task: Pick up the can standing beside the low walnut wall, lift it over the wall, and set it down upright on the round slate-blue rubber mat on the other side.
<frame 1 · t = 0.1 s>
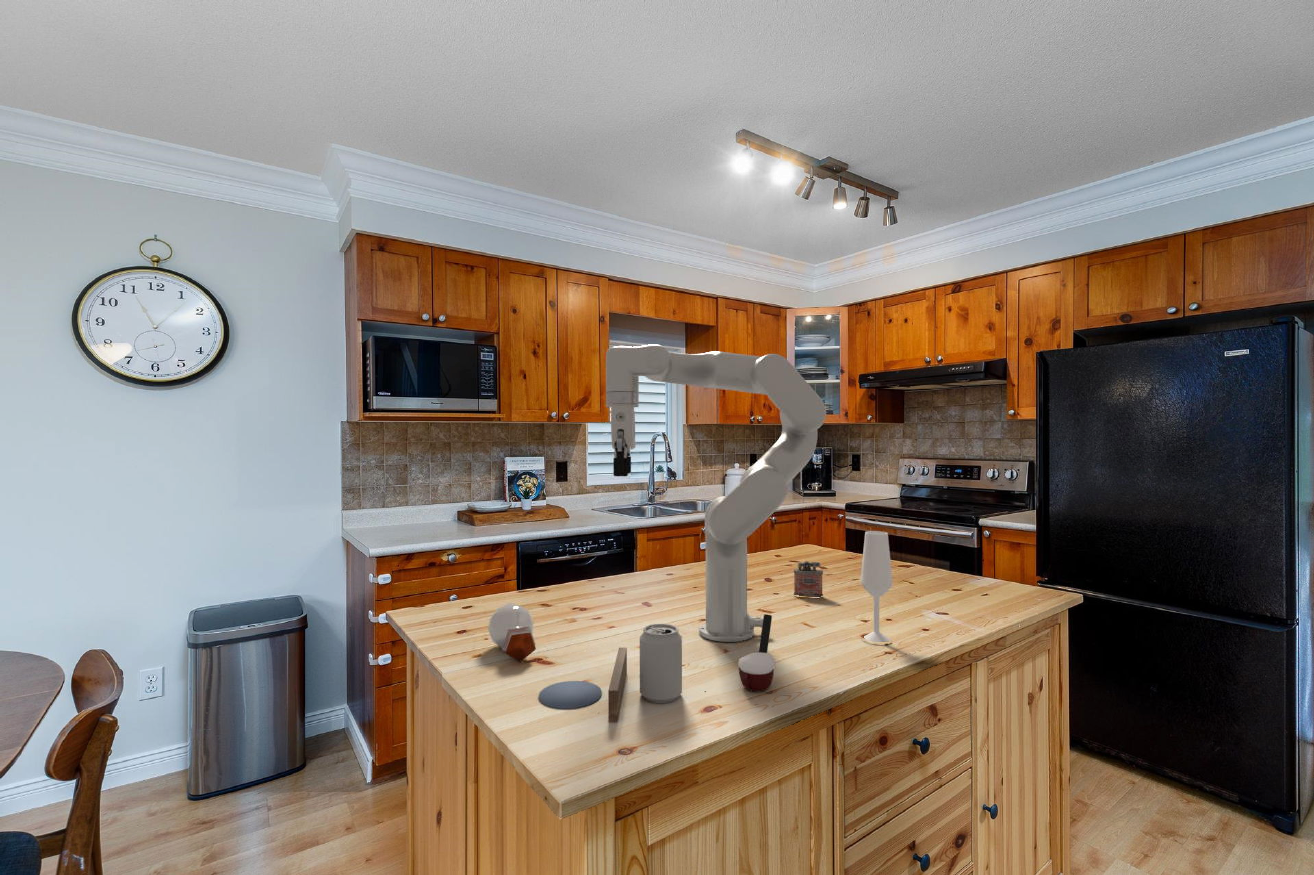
hand: (622, 474, 143), 37 cm above the counter, tool pointing down, fingers open, 9 cm apart
can: (661, 697, 109), on the counter
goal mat: (570, 695, 109), on the counter
potion bottle: (514, 652, 132), on the counter
champagne flute: (876, 641, 138), on the counter
low wall: (618, 695, 109), on the counter
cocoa: (757, 688, 113), on the counter
lighter: (808, 597, 175), on the counter
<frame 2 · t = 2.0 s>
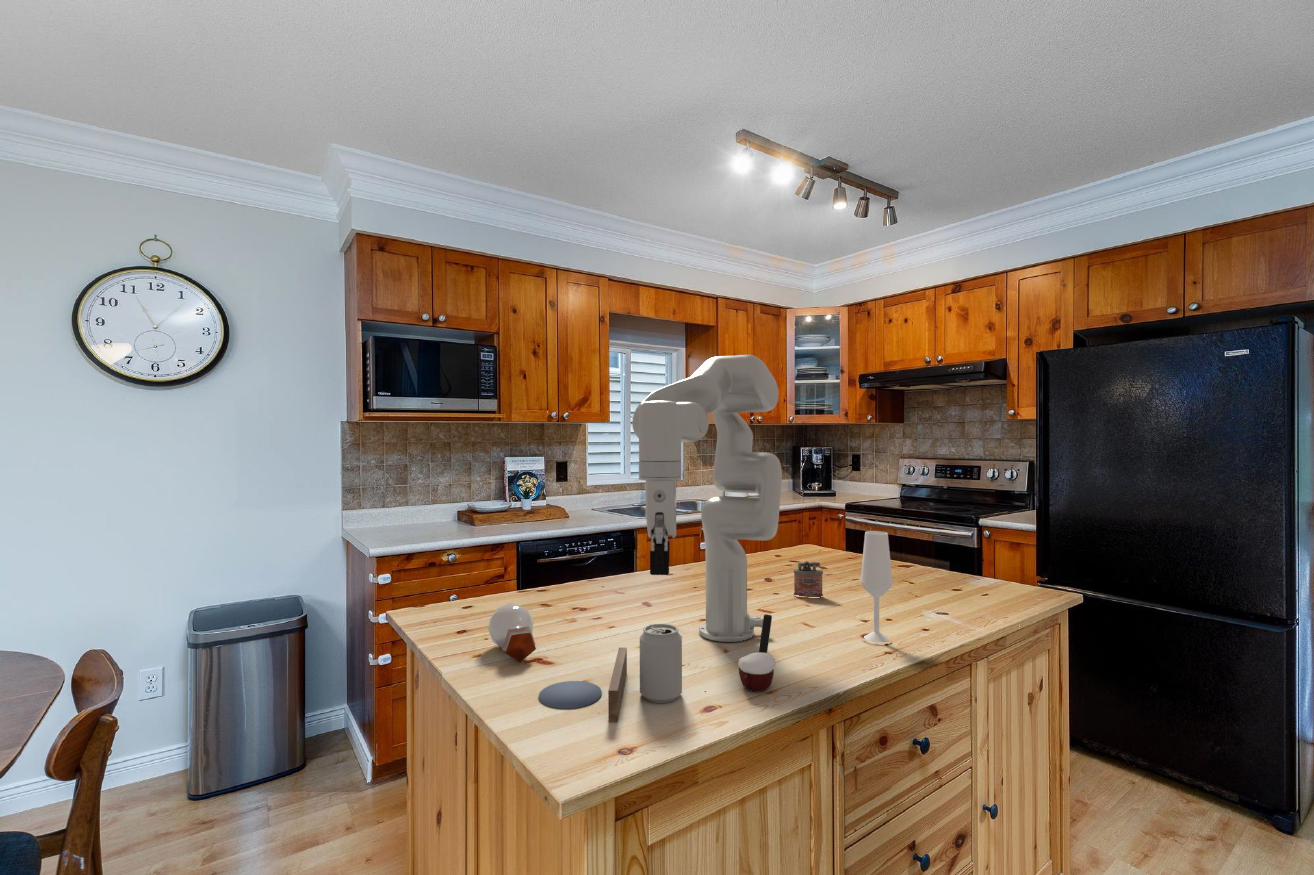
hand: (660, 568, 109), 22 cm above the counter, tool pointing down, fingers open, 9 cm apart
nothing on the counter moved.
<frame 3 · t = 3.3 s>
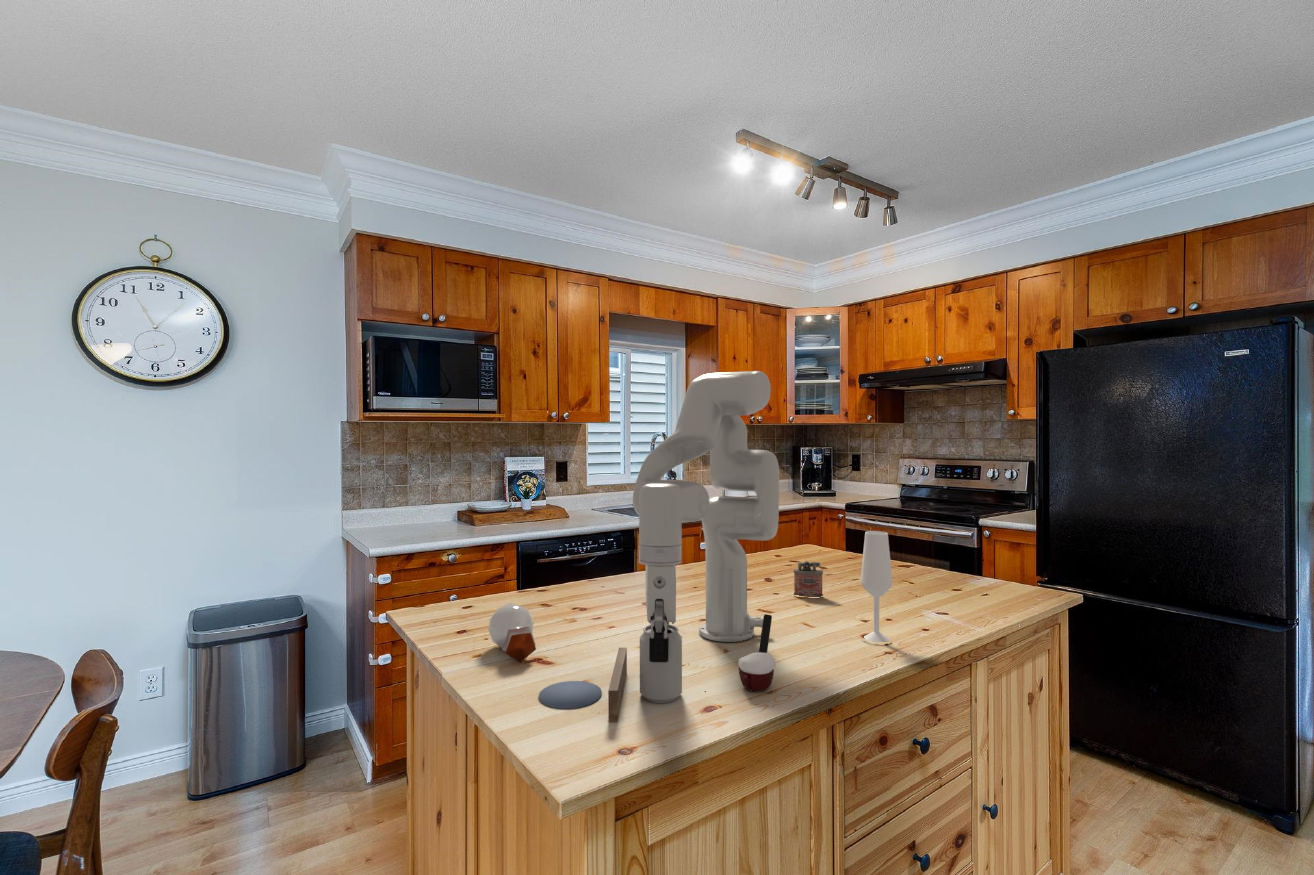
hand: (659, 652, 108), 8 cm above the counter, tool pointing down, fingers open, 9 cm apart
nothing on the counter moved.
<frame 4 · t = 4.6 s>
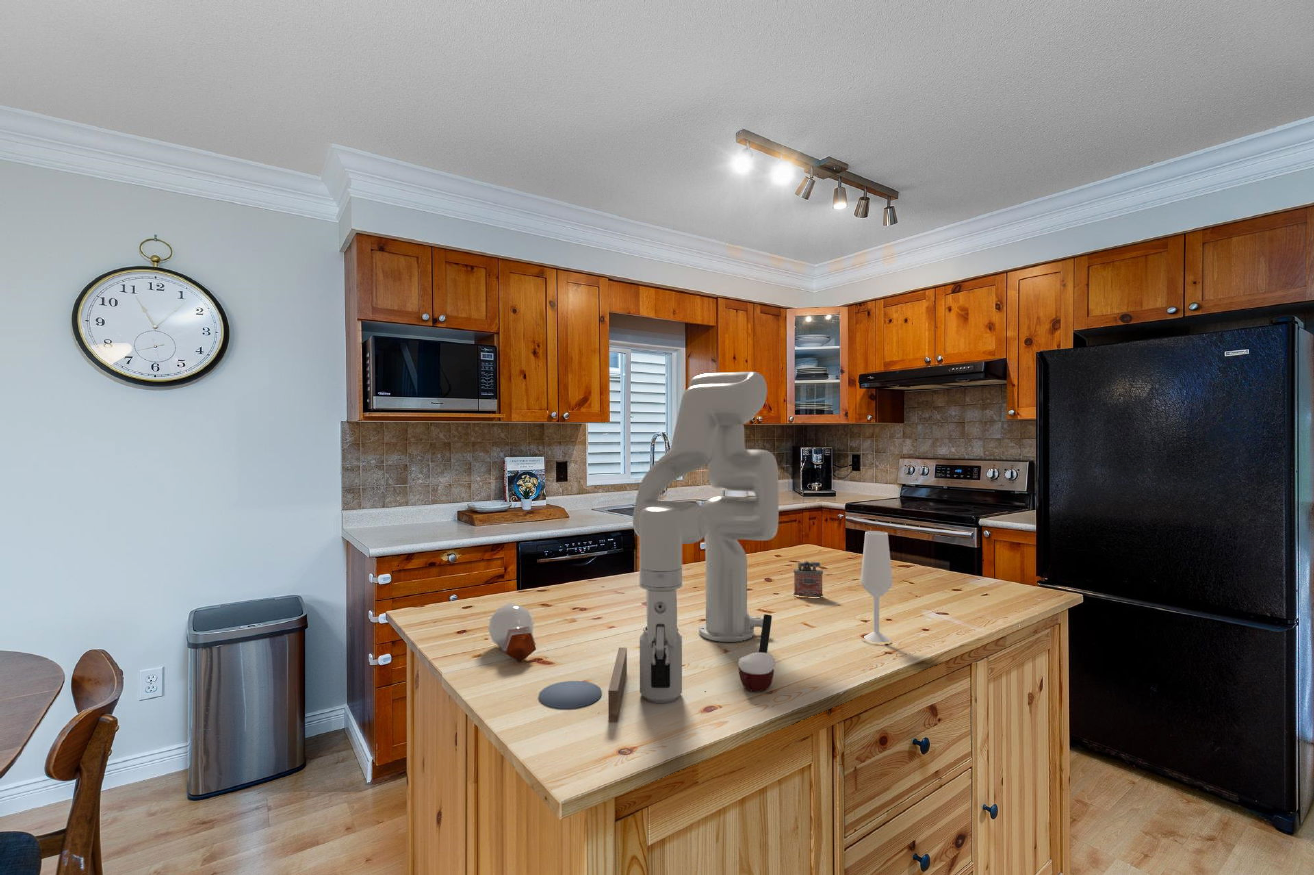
hand: (661, 677, 109), 3 cm above the counter, tool pointing down, fingers closed on can, 7 cm apart
can: (661, 696, 109), on the counter, touching gripper
everything else where it was.
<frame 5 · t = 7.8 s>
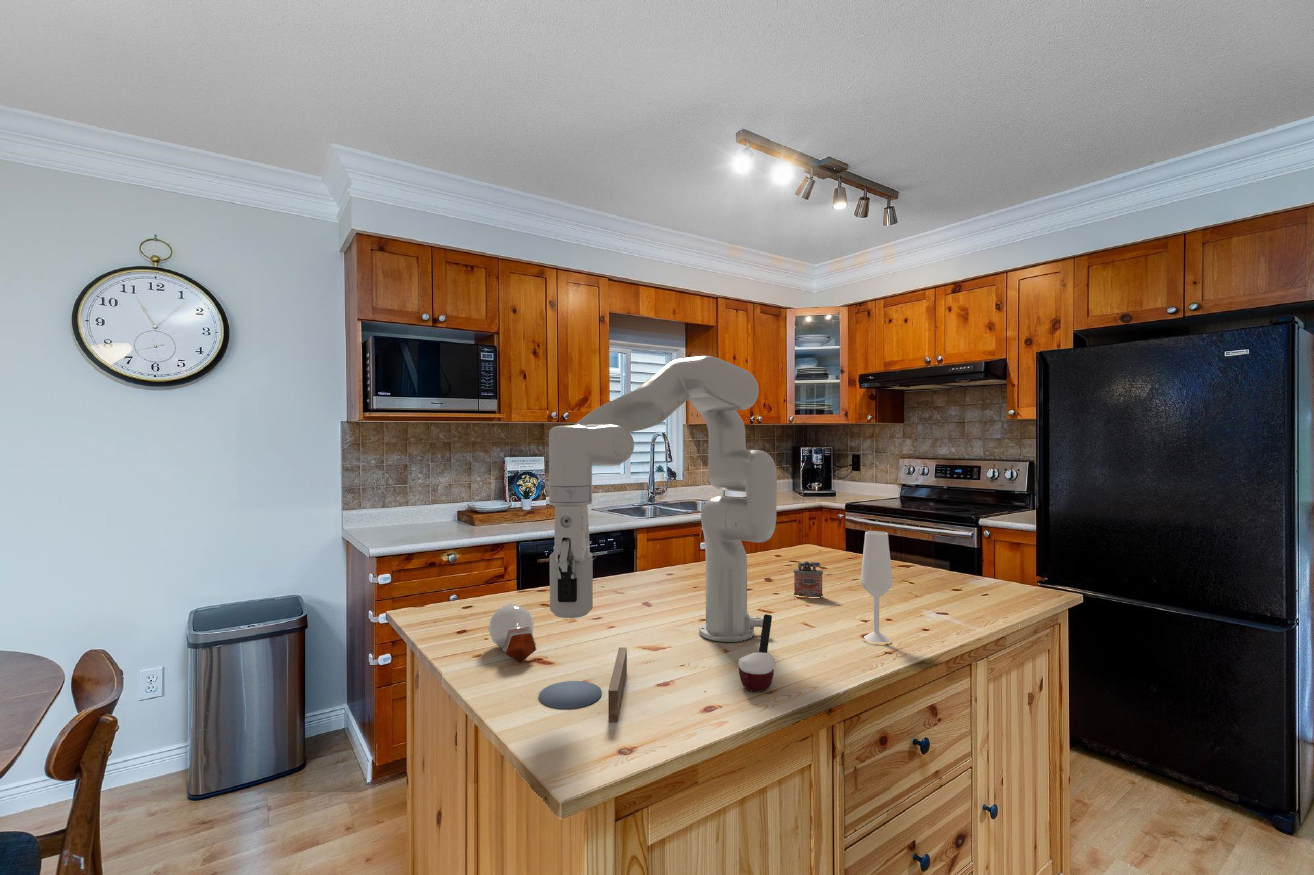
hand: (571, 594, 109), 18 cm above the counter, tool pointing down, fingers closed on can, 7 cm apart
can: (571, 614, 109), point 14 cm above the counter, touching gripper
everything else where it was.
when the fingers open (5 cm above the counter, at t = 11.2 s): can drops 1 cm, resting on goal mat.
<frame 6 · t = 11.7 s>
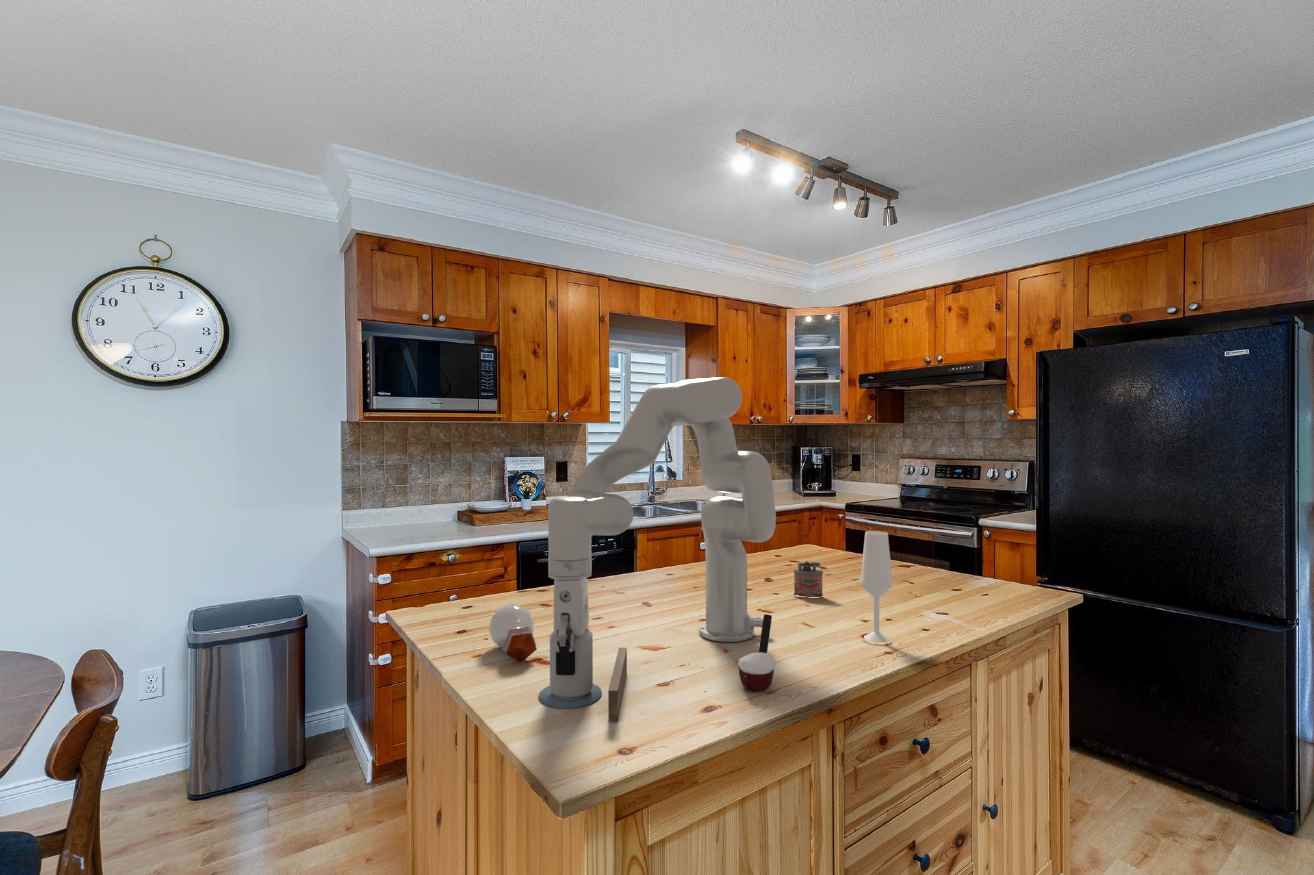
hand: (570, 664, 109), 6 cm above the counter, tool pointing down, fingers open, 9 cm apart
can: (571, 694, 110), resting on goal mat
everything else where it was.
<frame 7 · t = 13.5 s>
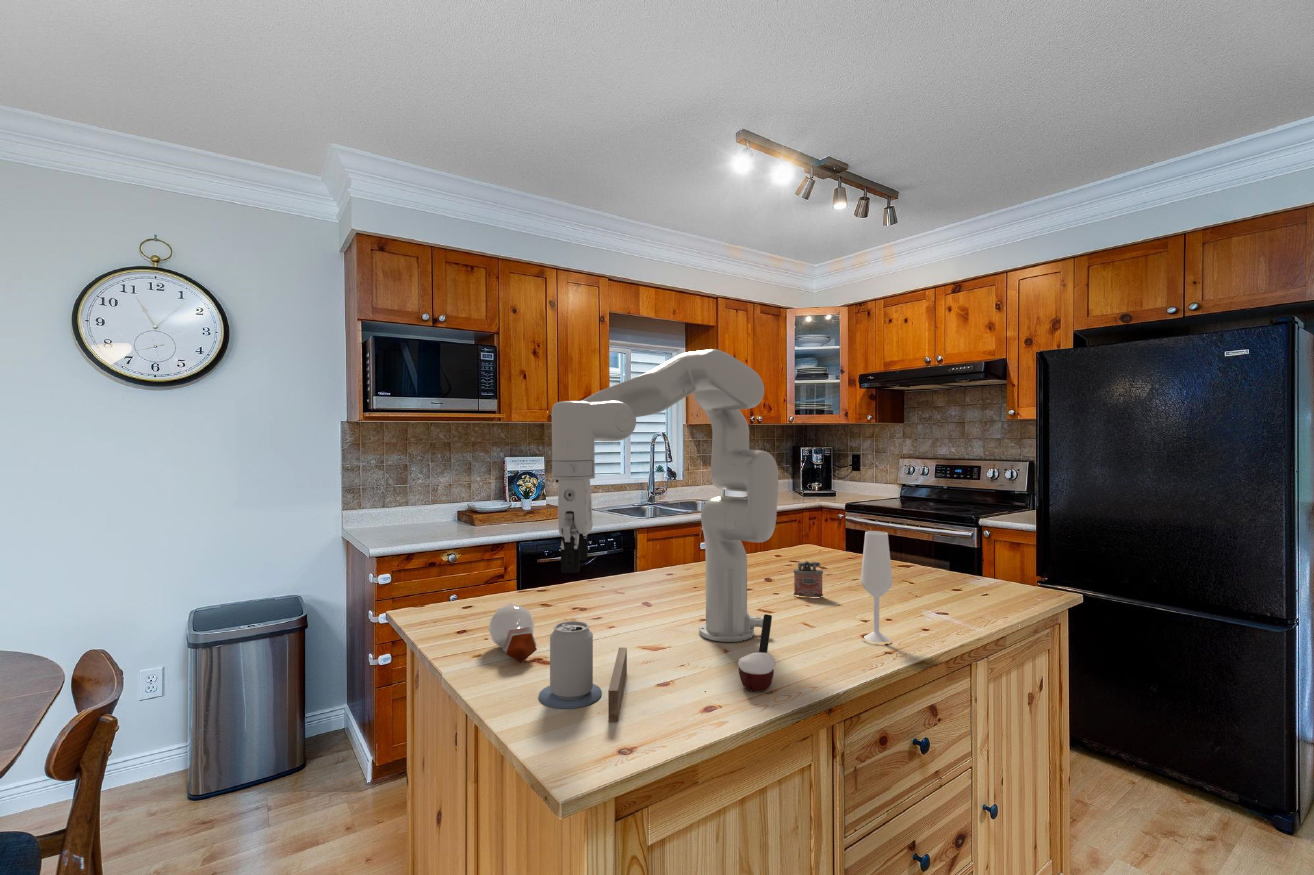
hand: (574, 566, 111), 23 cm above the counter, tool pointing down, fingers open, 9 cm apart
nothing on the counter moved.
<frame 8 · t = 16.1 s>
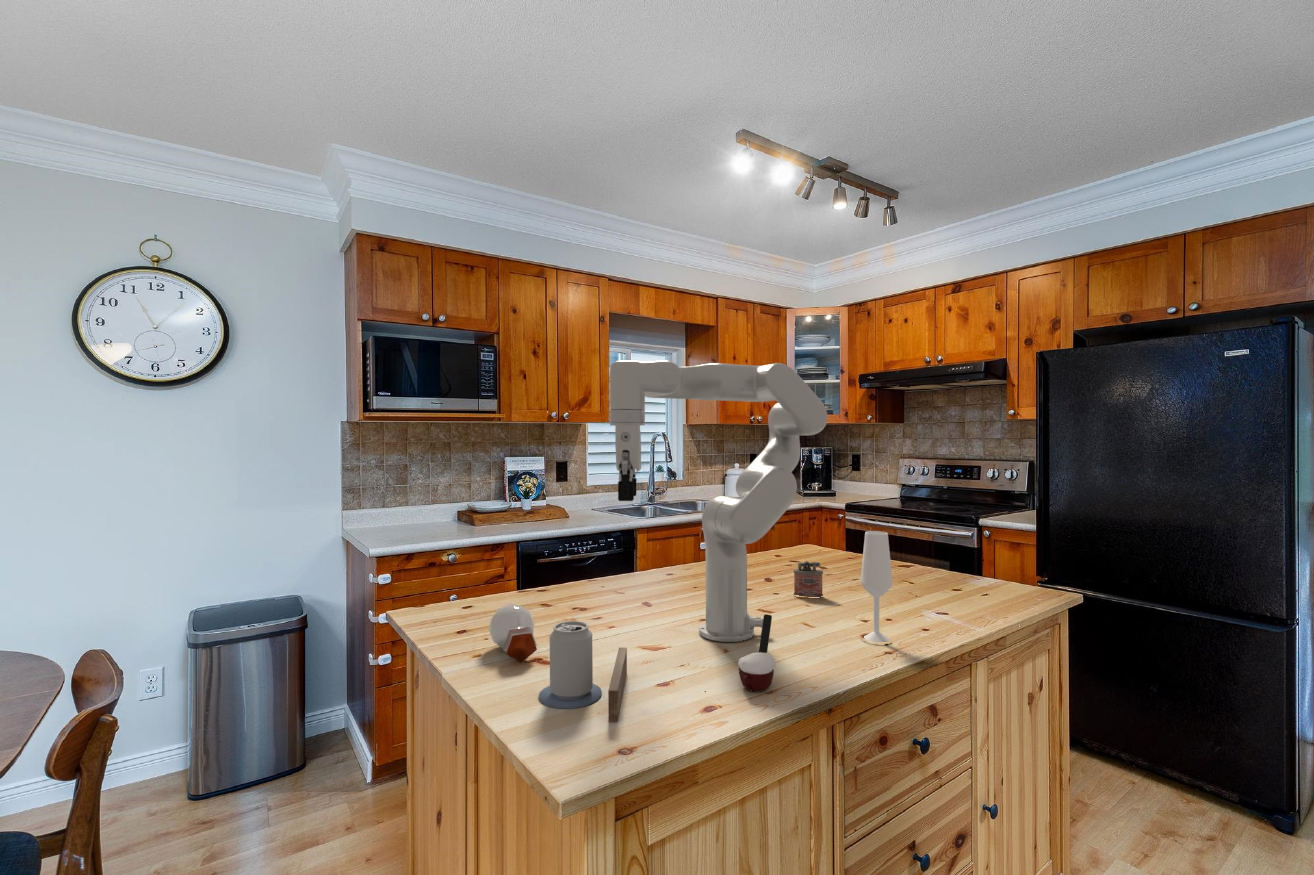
hand: (627, 498, 133), 32 cm above the counter, tool pointing down, fingers open, 9 cm apart
nothing on the counter moved.
at the end: can 0.2 cm off-centre on the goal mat, point 0.1 cm above the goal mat's base; can tilted 0°; the gripper is holding nothing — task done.
